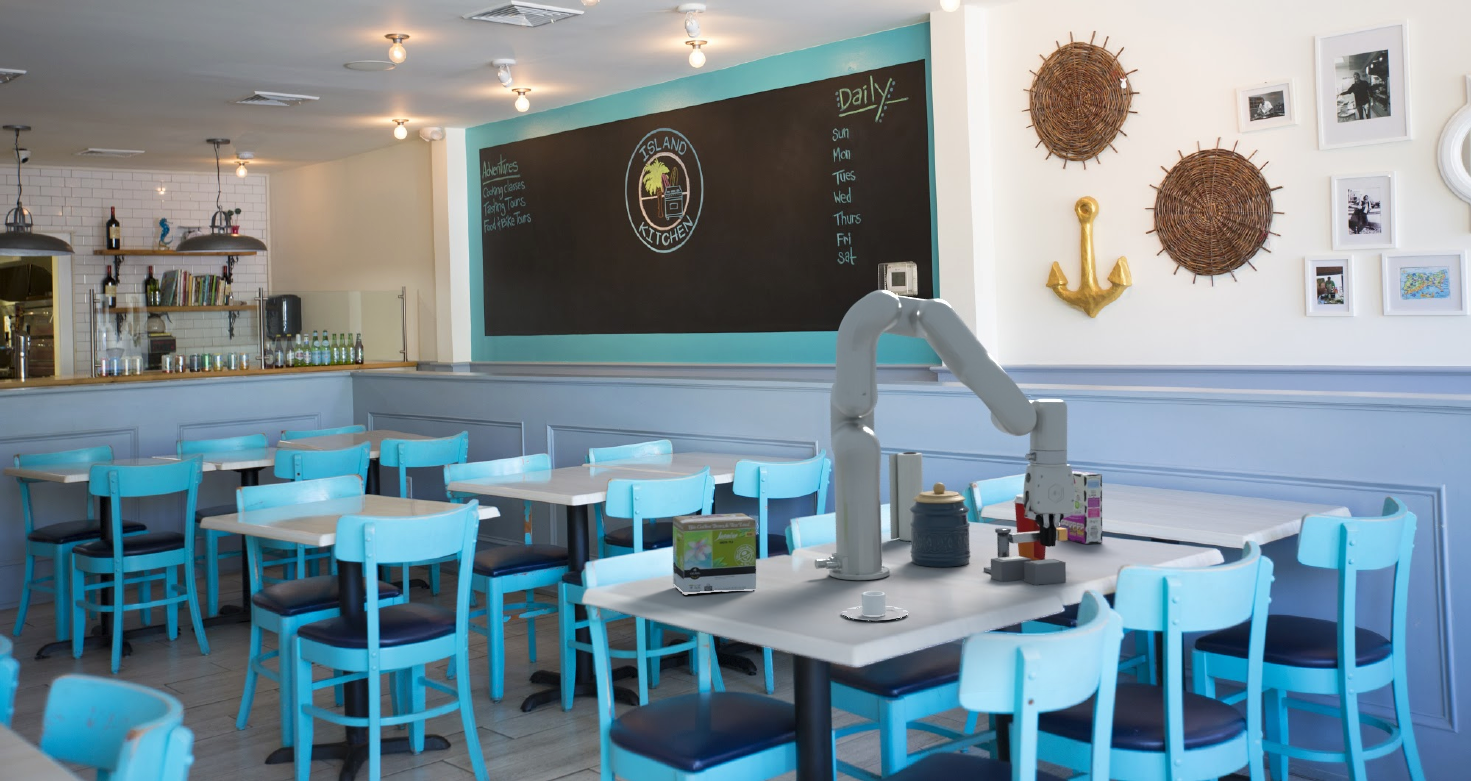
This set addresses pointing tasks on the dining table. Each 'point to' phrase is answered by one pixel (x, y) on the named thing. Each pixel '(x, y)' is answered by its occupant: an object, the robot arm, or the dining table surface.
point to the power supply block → (1045, 571)
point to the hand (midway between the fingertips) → (1047, 545)
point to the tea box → (714, 552)
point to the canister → (940, 529)
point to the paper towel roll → (904, 491)
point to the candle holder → (874, 603)
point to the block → (1008, 568)
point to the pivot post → (1001, 544)
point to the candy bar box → (1085, 509)
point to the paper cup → (1027, 525)
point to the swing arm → (1035, 536)
